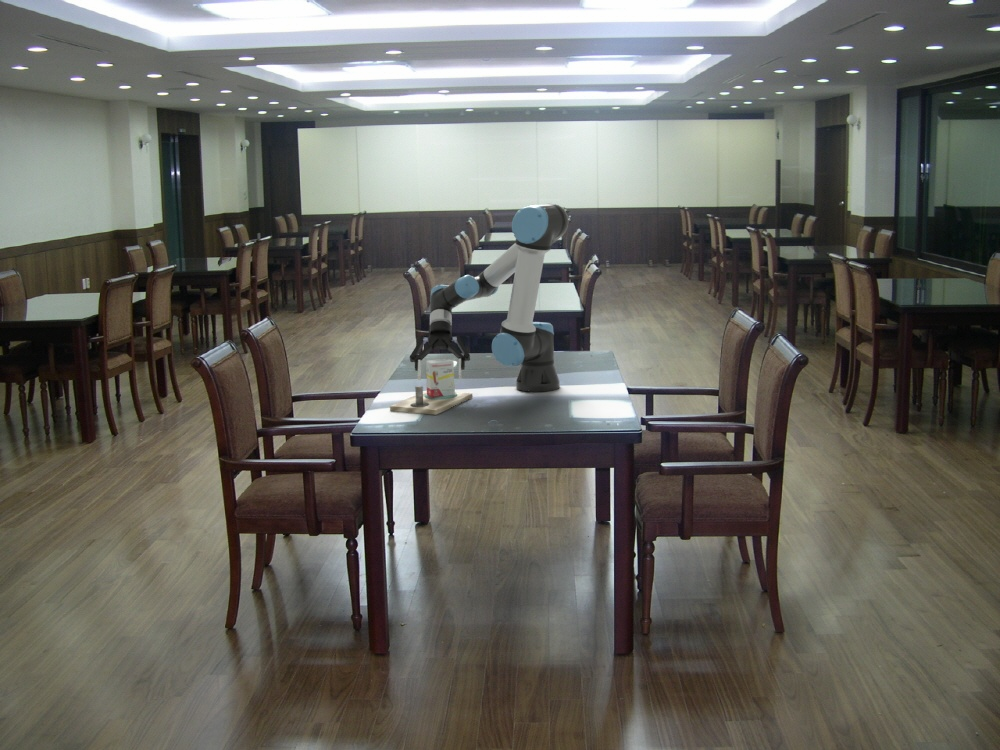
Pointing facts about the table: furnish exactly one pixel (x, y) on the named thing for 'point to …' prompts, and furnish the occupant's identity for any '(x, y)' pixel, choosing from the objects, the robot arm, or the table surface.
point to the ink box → (440, 377)
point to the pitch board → (429, 402)
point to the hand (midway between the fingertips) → (439, 377)
